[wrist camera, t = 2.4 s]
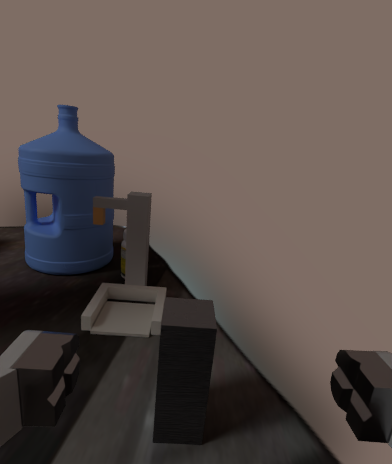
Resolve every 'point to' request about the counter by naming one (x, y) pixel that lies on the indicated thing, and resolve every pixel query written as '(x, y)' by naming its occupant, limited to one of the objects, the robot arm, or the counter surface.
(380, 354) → the robot arm
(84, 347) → the counter surface
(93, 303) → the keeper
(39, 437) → the counter surface
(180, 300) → the link block
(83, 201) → the water jug
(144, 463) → the counter surface
